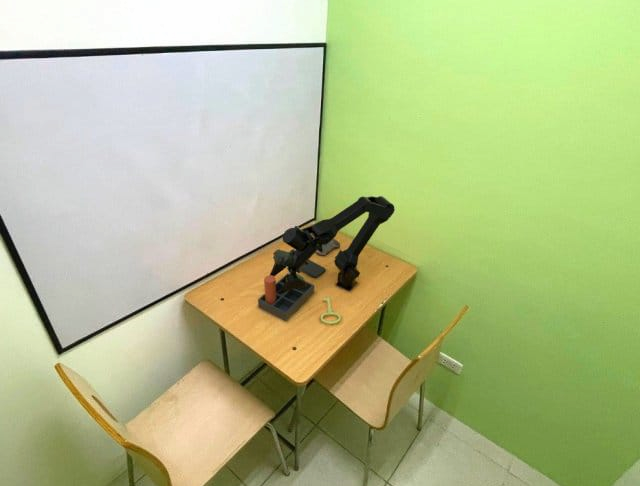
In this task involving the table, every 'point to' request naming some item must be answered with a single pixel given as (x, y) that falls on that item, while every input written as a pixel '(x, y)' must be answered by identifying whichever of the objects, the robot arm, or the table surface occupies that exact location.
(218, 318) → the table surface
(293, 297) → the grid
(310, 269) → the phone
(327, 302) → the key
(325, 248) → the stone
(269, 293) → the reddish brown cylinder
